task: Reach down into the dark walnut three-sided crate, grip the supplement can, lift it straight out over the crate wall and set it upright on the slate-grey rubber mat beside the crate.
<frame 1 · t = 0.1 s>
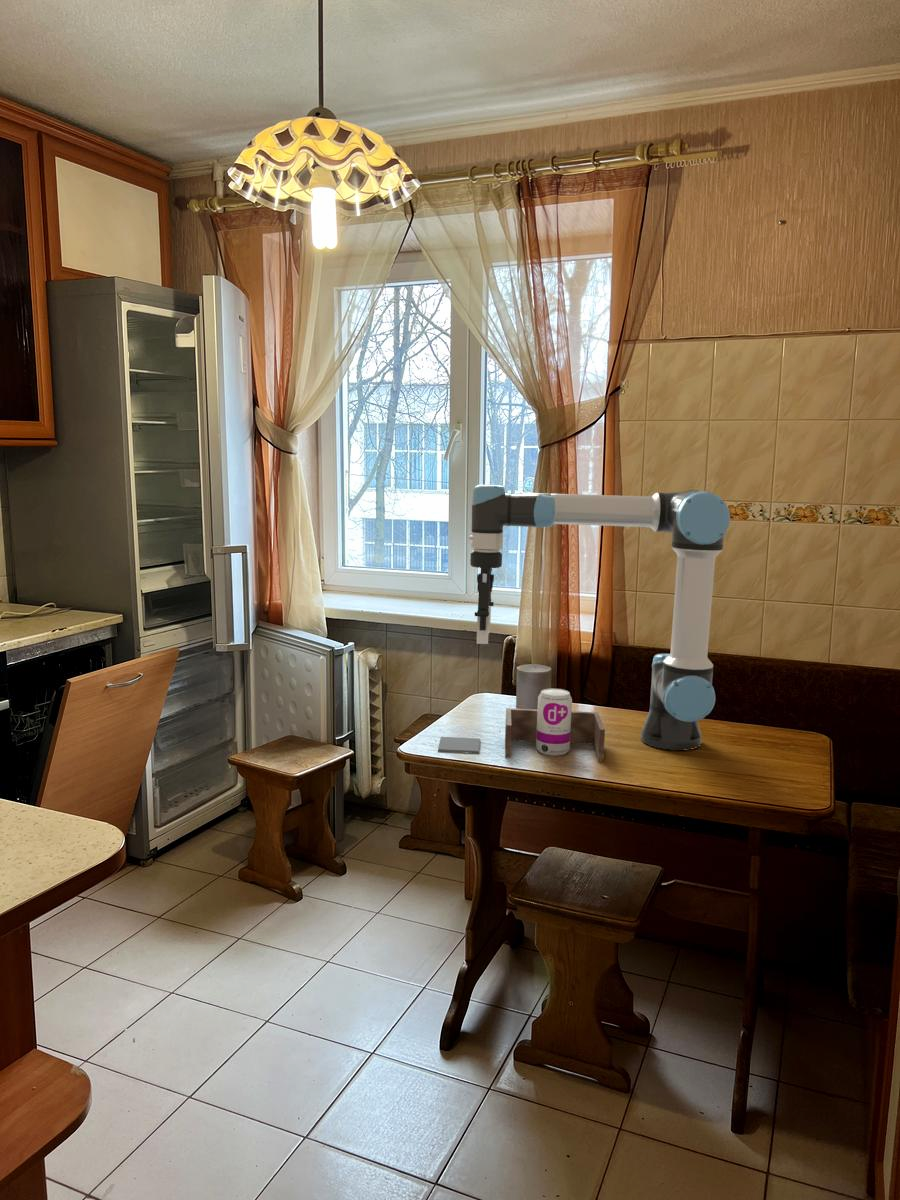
hand: (483, 638, 216), 28 cm above the table, tool pointing down, fingers open, 13 cm apart
supplement can: (552, 751, 221), on the table
pillar candle: (532, 716, 252), on the table
rubber mat: (459, 746, 223), on the table
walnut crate: (552, 749, 222), on the table
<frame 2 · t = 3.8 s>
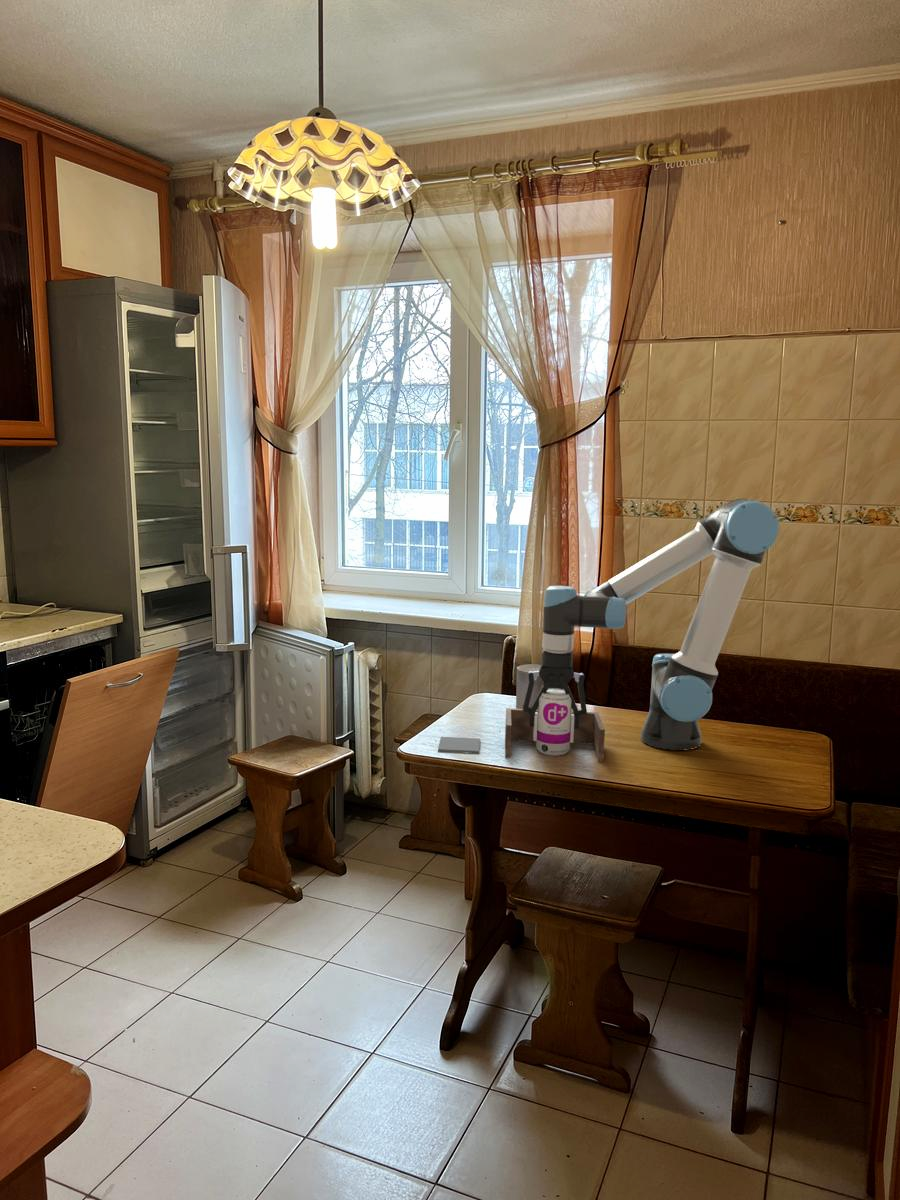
hand: (553, 740, 221), 3 cm above the table, tool pointing down, fingers closed on supplement can, 8 cm apart
supplement can: (552, 751, 221), on the table, touching gripper
everything else where it was.
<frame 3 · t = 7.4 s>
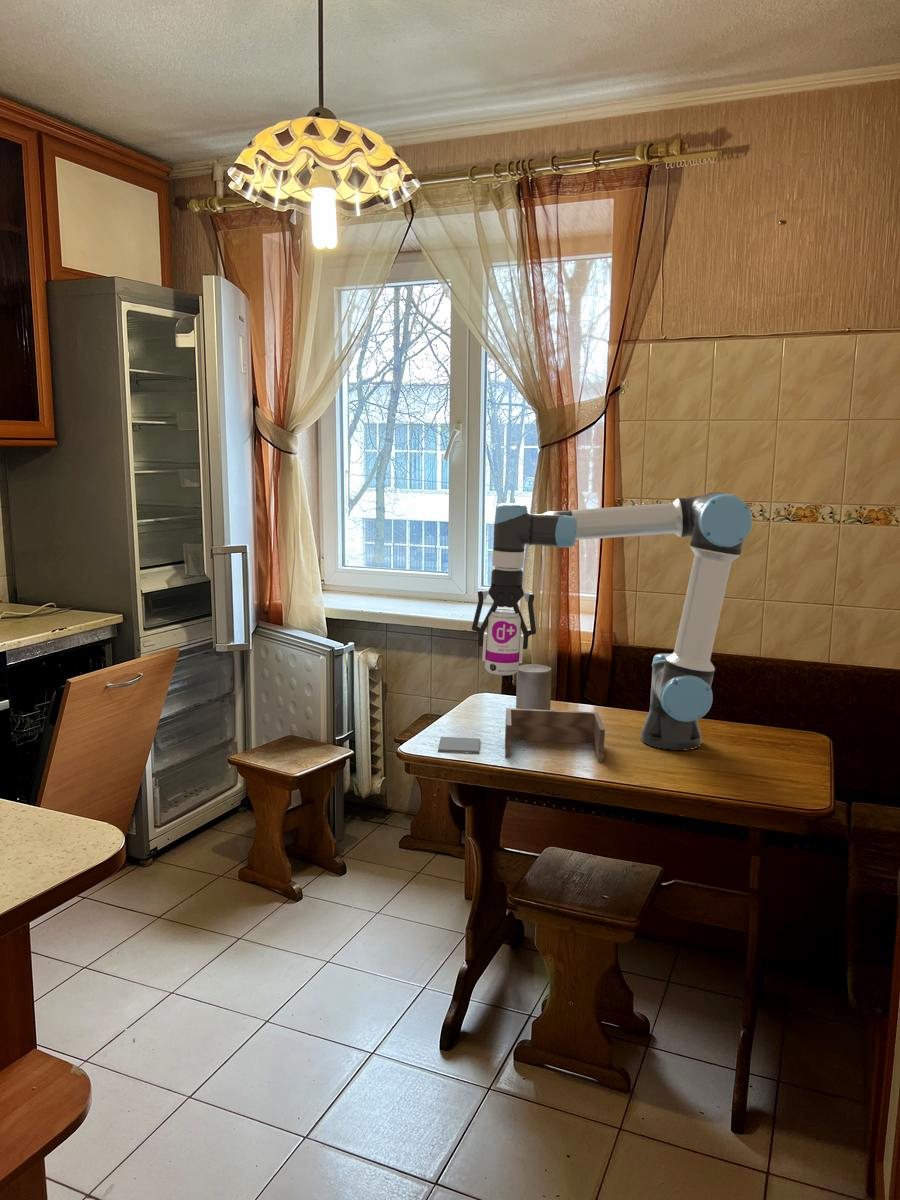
hand: (502, 660, 219), 22 cm above the table, tool pointing down, fingers closed on supplement can, 8 cm apart
supplement can: (501, 672, 219), point 19 cm above the table, touching gripper
everything else where it was.
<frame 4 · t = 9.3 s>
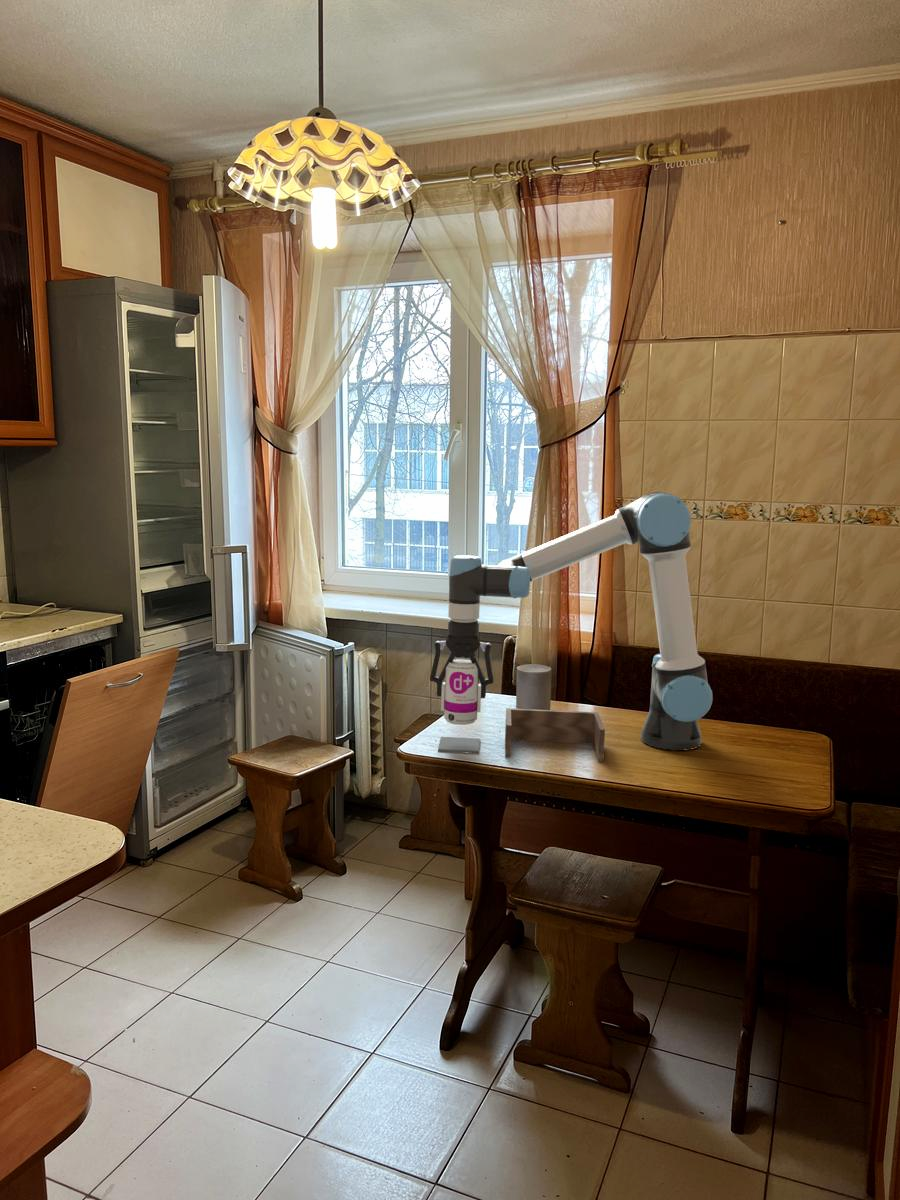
hand: (460, 709, 221), 9 cm above the table, tool pointing down, fingers closed on supplement can, 8 cm apart
supplement can: (460, 721, 222), point 6 cm above the table, touching gripper
everything else where it was.
when the fingers open (5 cm above the table, at t = 11.1 s): supplement can drops 1 cm, resting on rubber mat.
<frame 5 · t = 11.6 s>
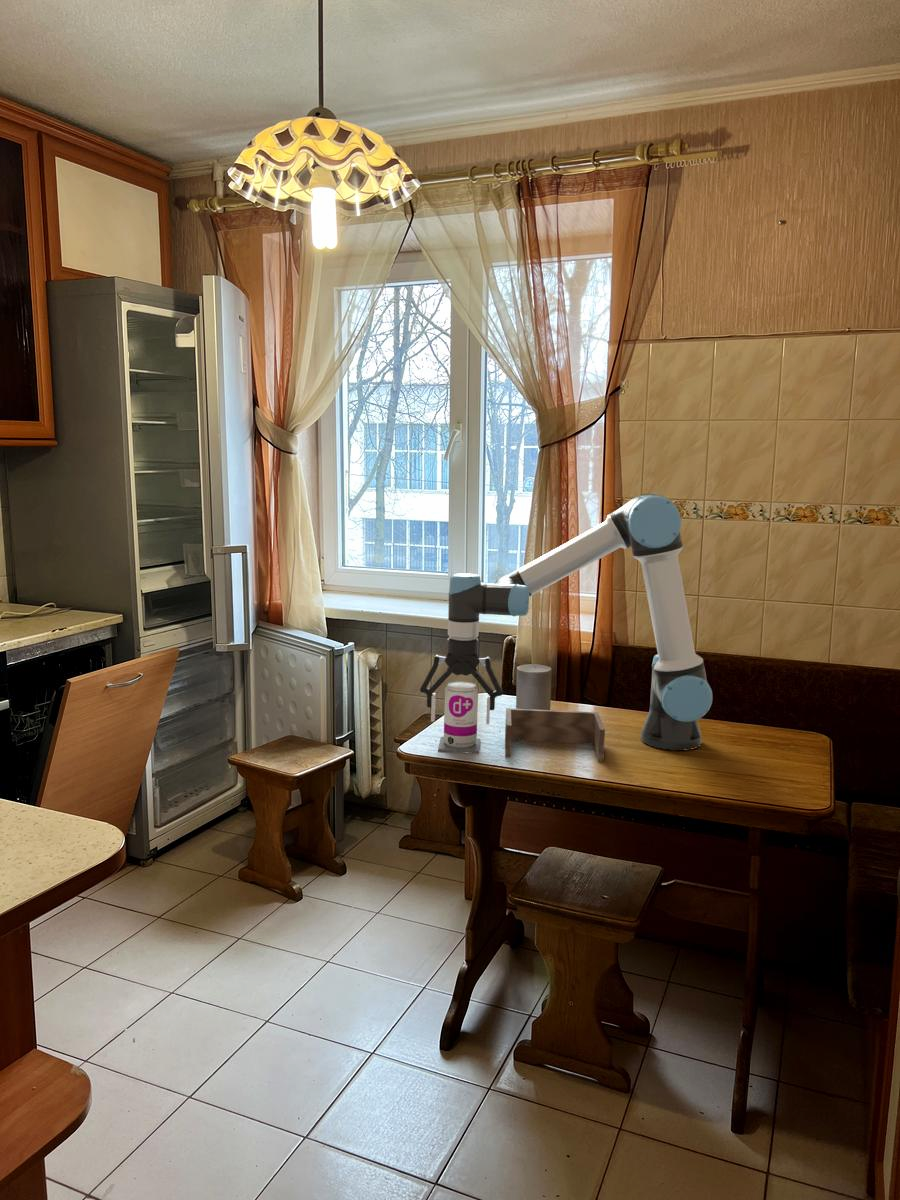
hand: (460, 721, 222), 6 cm above the table, tool pointing down, fingers open, 13 cm apart
supplement can: (459, 744, 223), resting on rubber mat
everything else where it was.
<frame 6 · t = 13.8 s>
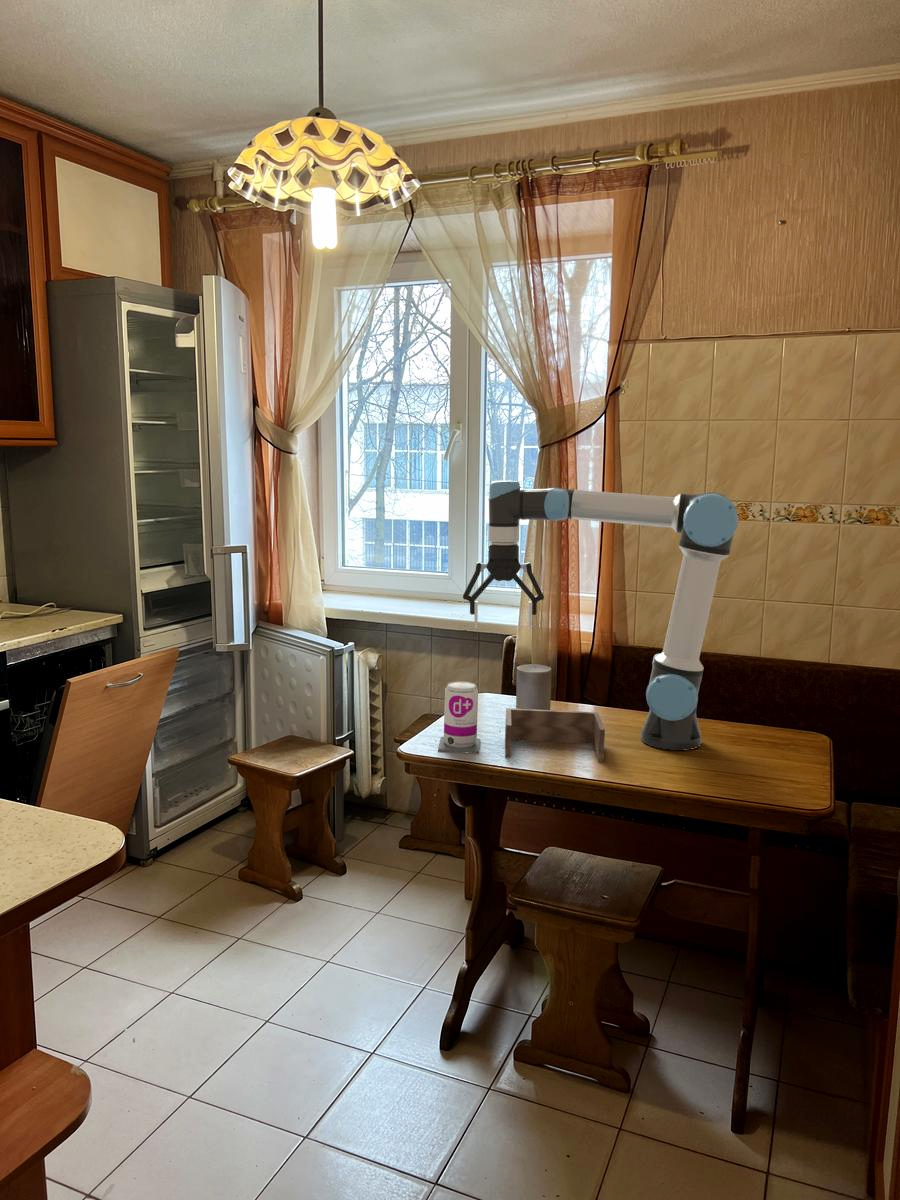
hand: (502, 627, 226), 29 cm above the table, tool pointing down, fingers open, 13 cm apart
nothing on the table moved.
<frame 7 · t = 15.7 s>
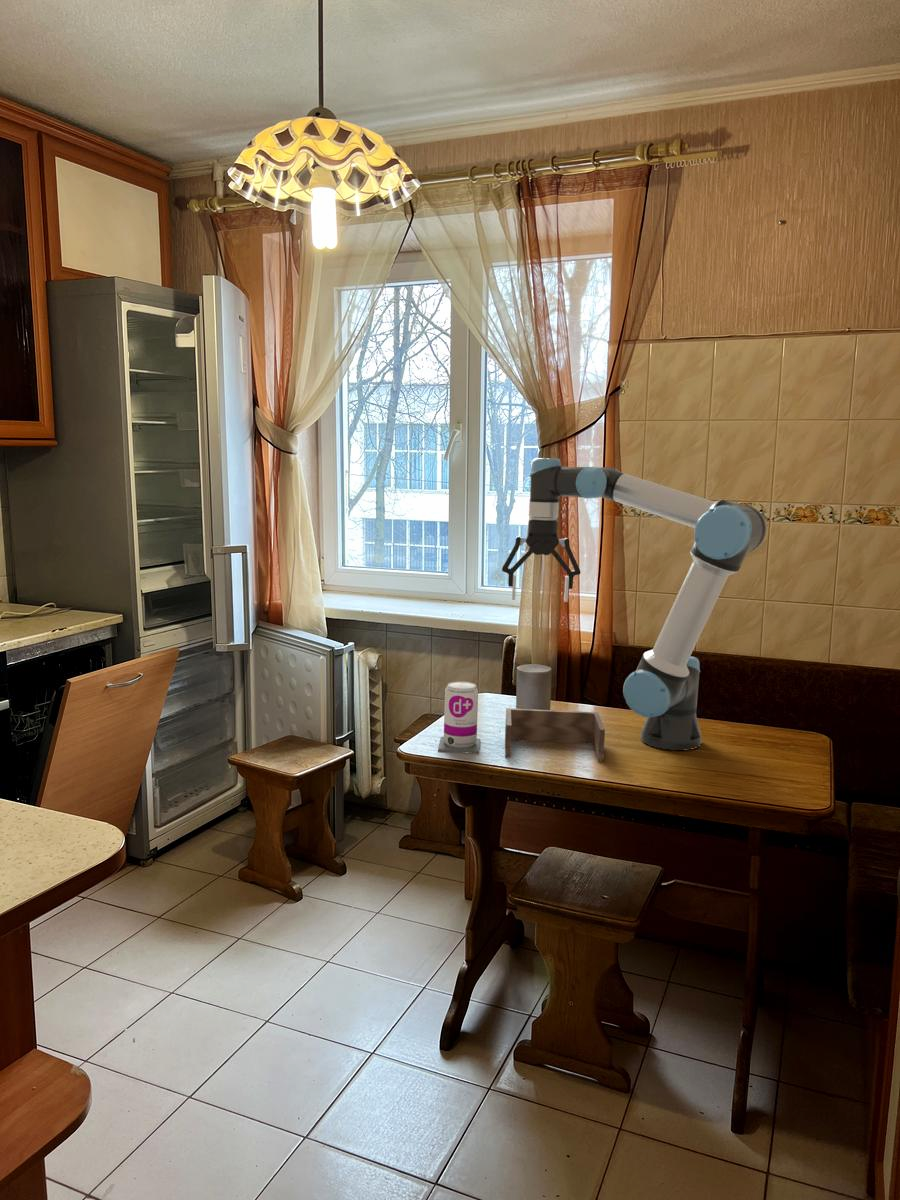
hand: (539, 600, 234), 35 cm above the table, tool pointing down, fingers open, 13 cm apart
nothing on the table moved.
at the end: supplement can inside the target area on the rubber mat (0.1 cm from its centre), point 0.4 cm above the rubber mat's base; supplement can tilted 0°; the gripper is holding nothing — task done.
